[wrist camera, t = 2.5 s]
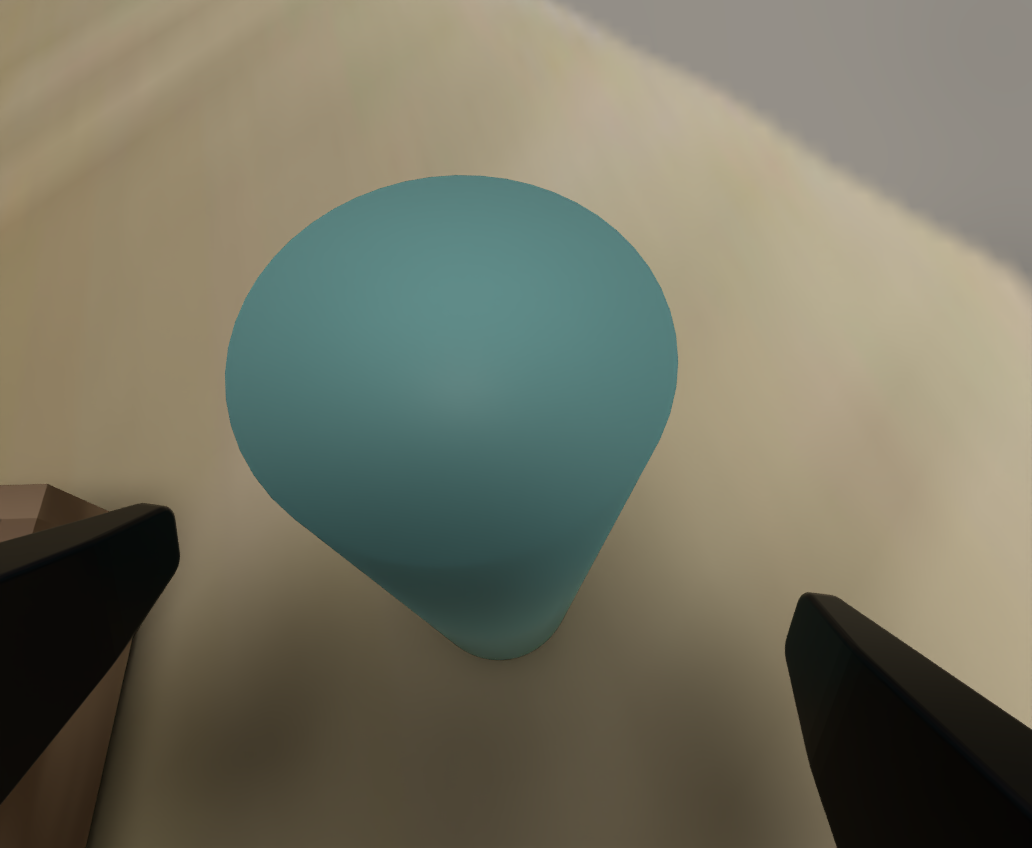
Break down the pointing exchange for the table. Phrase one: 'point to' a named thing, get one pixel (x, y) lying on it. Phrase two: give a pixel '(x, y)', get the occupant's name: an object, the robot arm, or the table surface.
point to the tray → (85, 738)
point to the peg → (456, 395)
